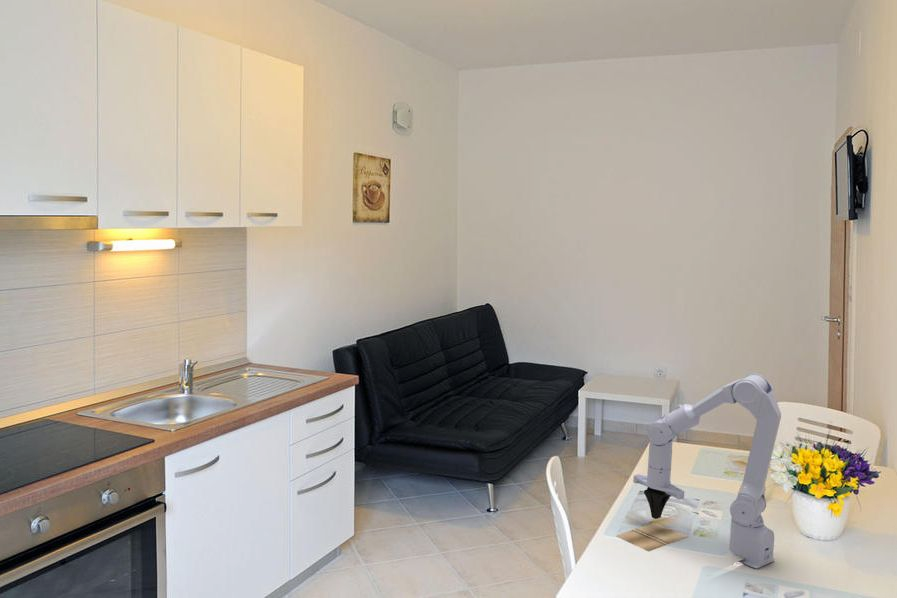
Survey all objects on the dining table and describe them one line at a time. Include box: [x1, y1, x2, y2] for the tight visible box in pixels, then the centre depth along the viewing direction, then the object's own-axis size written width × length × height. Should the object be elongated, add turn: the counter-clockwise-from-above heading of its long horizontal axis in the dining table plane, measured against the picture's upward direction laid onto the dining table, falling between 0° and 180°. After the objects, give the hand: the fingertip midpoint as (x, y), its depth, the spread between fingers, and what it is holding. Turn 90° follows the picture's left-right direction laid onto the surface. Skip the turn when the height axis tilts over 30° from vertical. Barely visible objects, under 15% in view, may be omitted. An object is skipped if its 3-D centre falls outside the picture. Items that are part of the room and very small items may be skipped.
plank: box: [633, 522, 689, 545], centre depth 191 cm, size 10×8×2 cm
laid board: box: [615, 529, 668, 552], centre depth 186 cm, size 10×7×2 cm
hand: (656, 517), depth 194 cm, fingers closed
